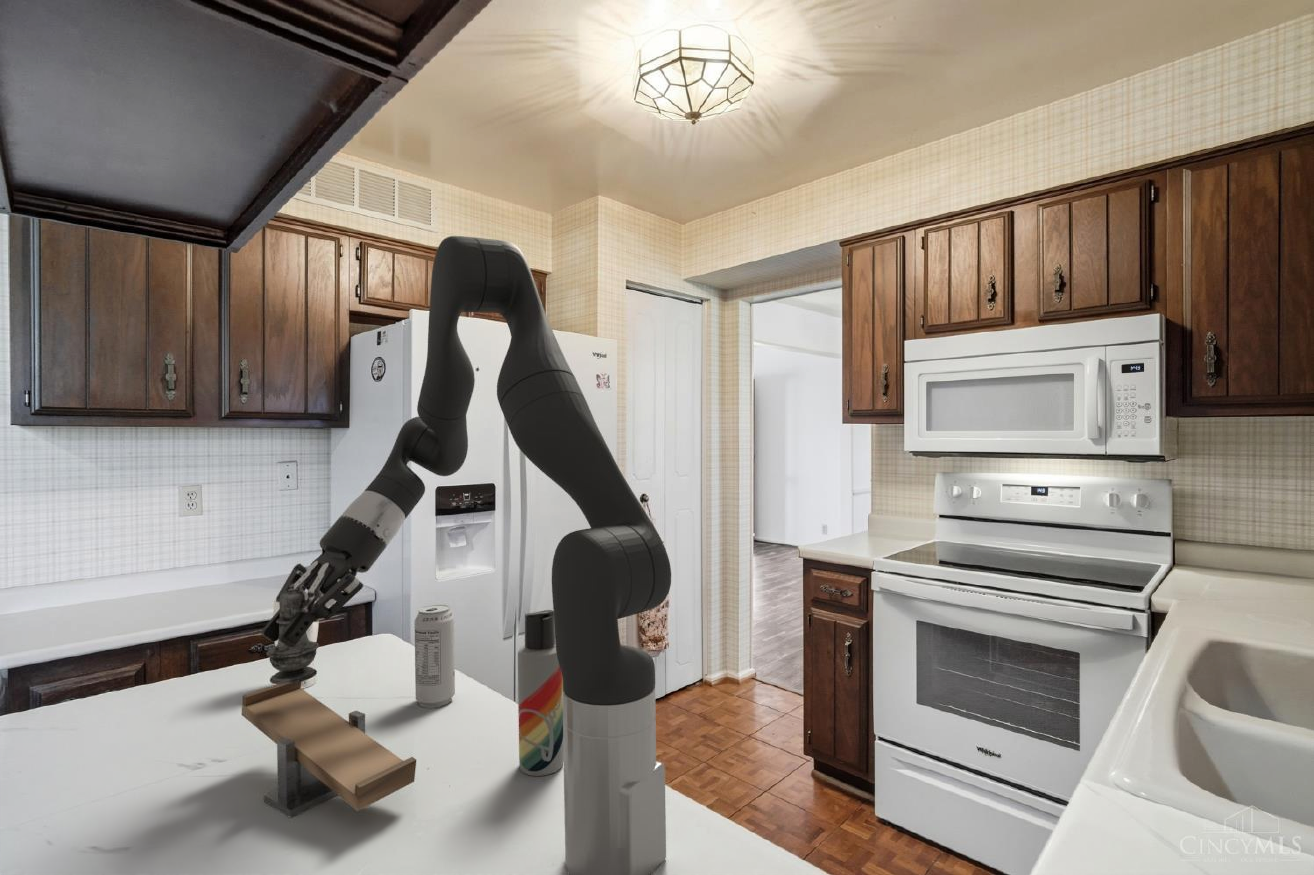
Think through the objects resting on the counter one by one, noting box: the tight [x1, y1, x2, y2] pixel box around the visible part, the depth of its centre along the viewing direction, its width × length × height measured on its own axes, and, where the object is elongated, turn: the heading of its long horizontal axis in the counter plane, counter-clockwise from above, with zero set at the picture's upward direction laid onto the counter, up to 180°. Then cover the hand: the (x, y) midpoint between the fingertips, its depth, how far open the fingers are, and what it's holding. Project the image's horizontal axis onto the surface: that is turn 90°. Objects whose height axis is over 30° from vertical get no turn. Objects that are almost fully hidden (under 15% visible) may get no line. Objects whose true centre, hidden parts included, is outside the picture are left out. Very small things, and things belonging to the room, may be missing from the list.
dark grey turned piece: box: [266, 583, 320, 685], centre depth 83 cm, size 6×6×12 cm
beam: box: [241, 682, 417, 812], centre depth 79 cm, size 26×7×3 cm, turn 57°
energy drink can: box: [414, 604, 456, 708], centre depth 104 cm, size 6×6×15 cm
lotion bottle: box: [517, 609, 564, 777], centre depth 83 cm, size 6×6×20 cm
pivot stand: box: [263, 710, 366, 818], centre depth 79 cm, size 6×11×7 cm, turn 147°
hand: (276, 640), depth 81 cm, fingers closed on dark grey turned piece, 3 cm apart
